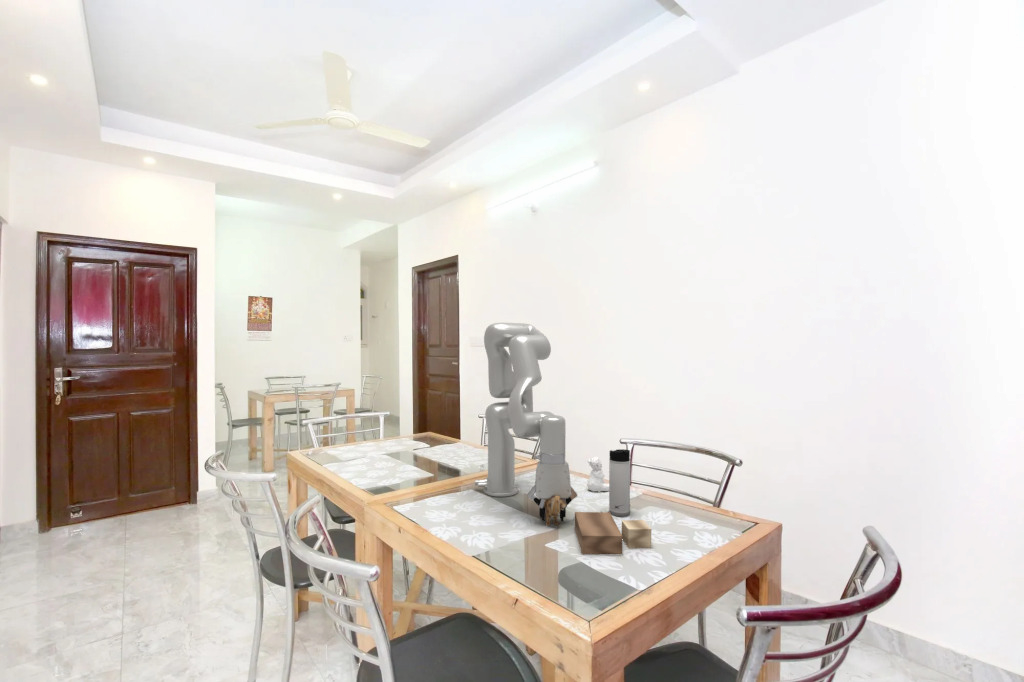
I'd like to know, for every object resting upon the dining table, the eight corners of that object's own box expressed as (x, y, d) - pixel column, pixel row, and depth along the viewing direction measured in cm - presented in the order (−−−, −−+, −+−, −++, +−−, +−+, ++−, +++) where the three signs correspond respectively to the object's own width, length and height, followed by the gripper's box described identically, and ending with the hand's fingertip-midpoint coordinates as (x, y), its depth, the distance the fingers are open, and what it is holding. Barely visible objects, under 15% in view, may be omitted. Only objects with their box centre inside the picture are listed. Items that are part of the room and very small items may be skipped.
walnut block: (582, 555, 114) (582, 535, 114) (574, 529, 130) (574, 512, 130) (622, 556, 113) (622, 536, 113) (609, 530, 129) (609, 512, 129)
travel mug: (619, 518, 137) (619, 452, 137) (605, 511, 143) (605, 447, 143) (635, 515, 140) (635, 450, 140) (620, 508, 146) (620, 445, 146)
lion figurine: (567, 529, 129) (567, 497, 129) (550, 531, 128) (550, 499, 128) (550, 511, 143) (550, 482, 143) (534, 512, 142) (534, 483, 142)
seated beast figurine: (616, 491, 163) (616, 457, 163) (599, 495, 158) (599, 461, 158) (597, 484, 170) (597, 452, 171) (580, 488, 166) (580, 455, 166)
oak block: (628, 548, 117) (628, 529, 117) (621, 538, 123) (621, 520, 123) (651, 548, 117) (651, 528, 117) (643, 538, 123) (643, 520, 123)
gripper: (525, 461, 130) (524, 525, 130) (583, 460, 131) (583, 524, 131) (522, 455, 137) (522, 515, 137) (578, 454, 138) (578, 514, 138)
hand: (552, 519), depth 134 cm, fingers open, 4 cm apart
